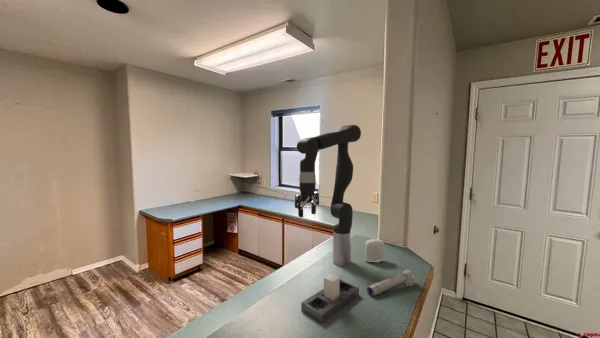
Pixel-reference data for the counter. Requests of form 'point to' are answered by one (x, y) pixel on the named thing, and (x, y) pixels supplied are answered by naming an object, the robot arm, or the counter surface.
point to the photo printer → (374, 250)
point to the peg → (331, 287)
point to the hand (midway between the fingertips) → (307, 215)
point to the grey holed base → (329, 302)
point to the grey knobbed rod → (391, 283)
